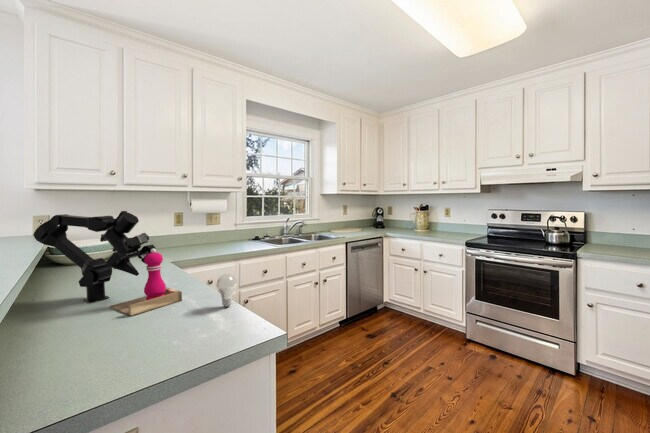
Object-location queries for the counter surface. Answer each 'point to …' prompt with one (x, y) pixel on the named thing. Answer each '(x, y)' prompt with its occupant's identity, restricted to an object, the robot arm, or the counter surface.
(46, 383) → the counter surface
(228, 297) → the light bulb
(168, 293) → the brown flat rimmed piece
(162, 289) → the pepper mill
